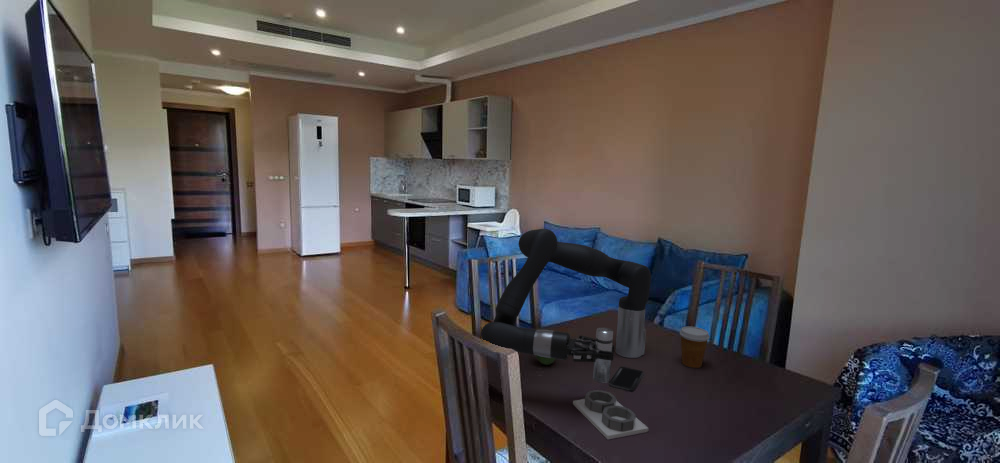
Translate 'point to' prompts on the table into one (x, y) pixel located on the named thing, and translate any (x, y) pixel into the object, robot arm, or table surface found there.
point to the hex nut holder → (609, 415)
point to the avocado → (545, 358)
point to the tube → (603, 366)
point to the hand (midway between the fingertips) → (613, 352)
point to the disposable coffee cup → (693, 345)
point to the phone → (626, 379)
